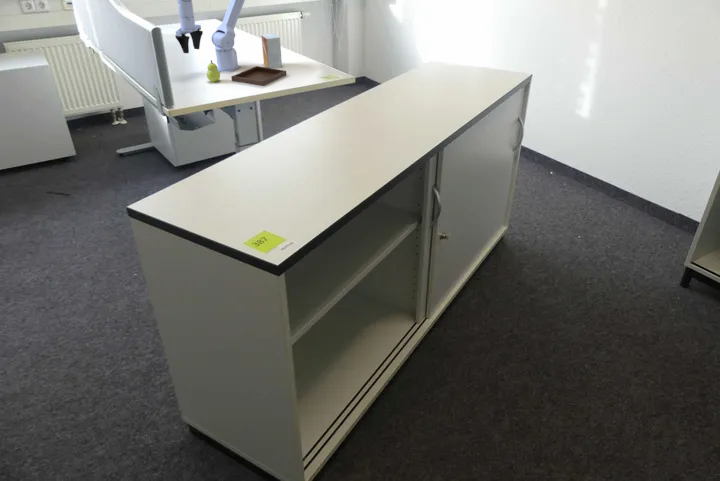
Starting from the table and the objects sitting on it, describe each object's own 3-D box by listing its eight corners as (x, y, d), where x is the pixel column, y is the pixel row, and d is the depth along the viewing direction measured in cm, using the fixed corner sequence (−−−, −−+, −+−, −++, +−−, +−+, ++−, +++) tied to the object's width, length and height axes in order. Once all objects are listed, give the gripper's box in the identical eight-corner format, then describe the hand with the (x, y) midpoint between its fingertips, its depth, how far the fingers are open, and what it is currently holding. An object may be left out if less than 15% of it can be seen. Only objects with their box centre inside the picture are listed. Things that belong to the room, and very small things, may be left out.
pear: (211, 79, 233) (208, 57, 228) (223, 80, 232) (220, 59, 227) (205, 83, 229) (202, 61, 224) (217, 84, 227) (213, 62, 222)
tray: (256, 71, 244) (256, 66, 243) (286, 76, 238) (286, 70, 237) (232, 81, 231) (231, 76, 229) (262, 87, 225) (262, 81, 224)
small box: (263, 64, 253) (261, 34, 246) (276, 62, 255) (274, 33, 248) (268, 69, 247) (266, 38, 240) (282, 67, 249) (280, 37, 242)
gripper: (184, 20, 218) (189, 55, 225) (205, 14, 229) (209, 48, 237) (169, 19, 220) (174, 54, 227) (191, 13, 231) (195, 46, 239)
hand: (191, 51), depth 232 cm, fingers open, 7 cm apart
